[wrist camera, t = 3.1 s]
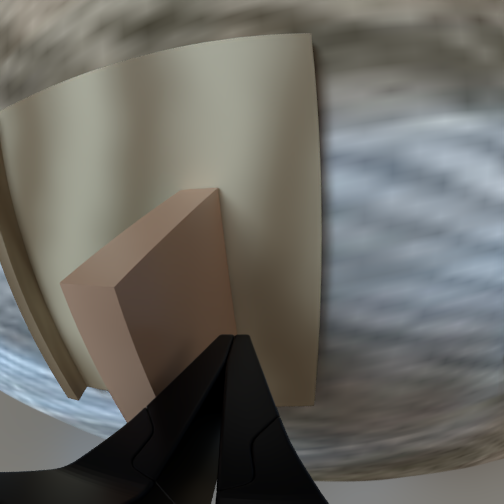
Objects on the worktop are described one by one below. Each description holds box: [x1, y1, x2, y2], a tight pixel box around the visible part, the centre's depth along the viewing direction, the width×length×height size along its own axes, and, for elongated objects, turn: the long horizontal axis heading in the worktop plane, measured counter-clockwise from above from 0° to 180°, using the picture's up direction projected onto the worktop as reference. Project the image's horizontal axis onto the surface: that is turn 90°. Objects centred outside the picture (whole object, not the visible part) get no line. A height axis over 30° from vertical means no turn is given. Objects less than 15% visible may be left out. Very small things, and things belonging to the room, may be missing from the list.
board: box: [0, 33, 322, 407], centre depth 14 cm, size 16×18×2 cm
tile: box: [60, 188, 237, 423], centre depth 10 cm, size 2×7×7 cm, turn 4°
